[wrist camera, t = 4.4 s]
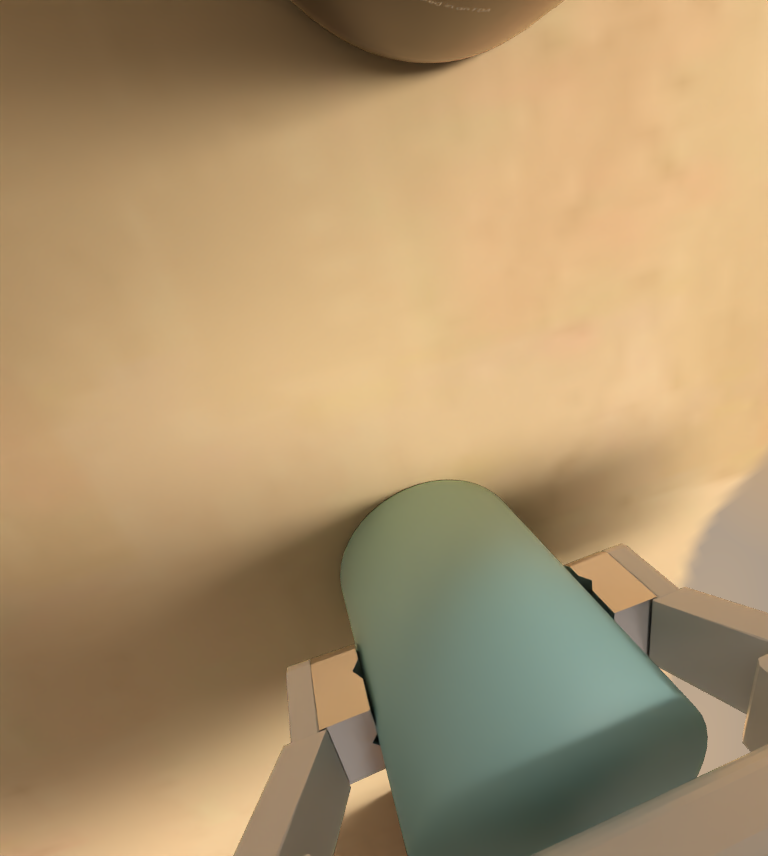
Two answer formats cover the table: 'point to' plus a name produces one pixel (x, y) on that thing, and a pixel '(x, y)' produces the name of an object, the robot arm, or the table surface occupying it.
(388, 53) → the supplement bottle
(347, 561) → the teal rounded cylinder
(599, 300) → the table surface
